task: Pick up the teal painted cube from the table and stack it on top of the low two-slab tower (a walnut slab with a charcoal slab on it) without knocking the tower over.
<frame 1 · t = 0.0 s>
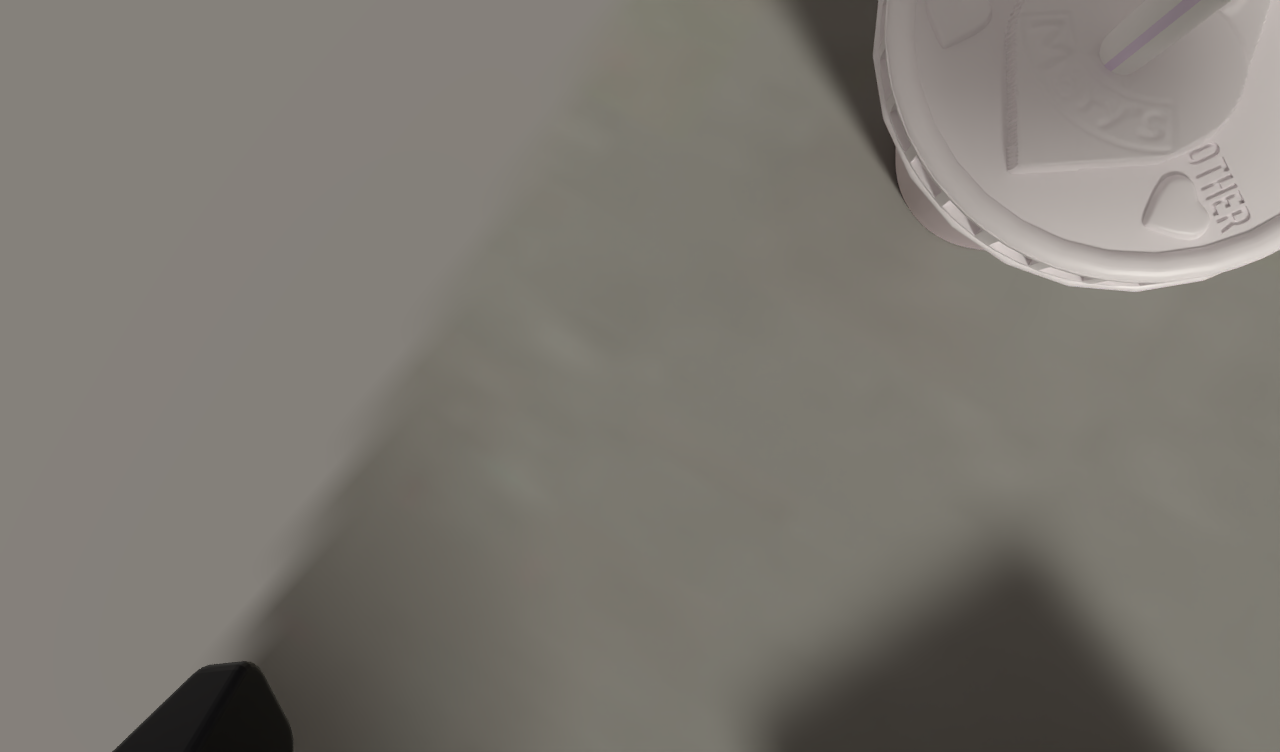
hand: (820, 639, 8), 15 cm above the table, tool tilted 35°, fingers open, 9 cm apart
smoothie: (984, 161, 23), on the table
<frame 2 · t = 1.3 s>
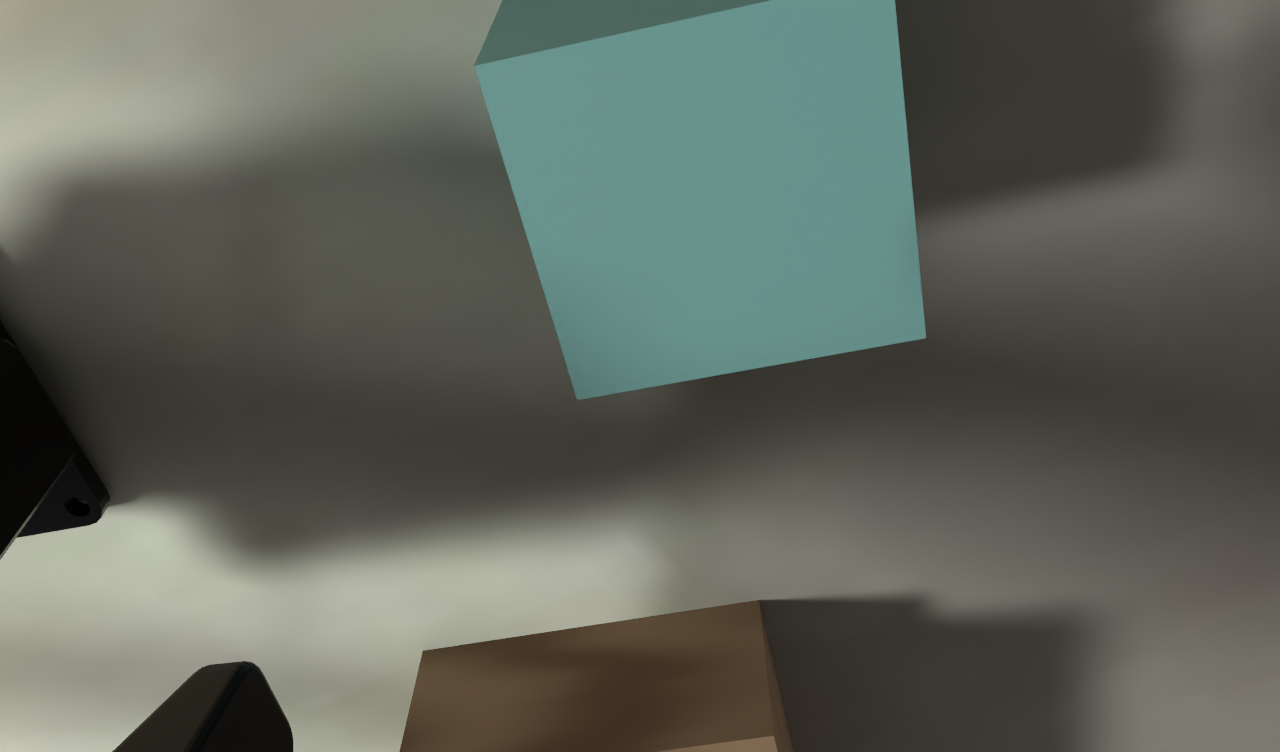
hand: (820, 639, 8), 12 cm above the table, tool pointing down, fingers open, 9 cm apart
tower base: (626, 727, 28), on the table, touching tower top
teal cube: (702, 84, 18), on the table
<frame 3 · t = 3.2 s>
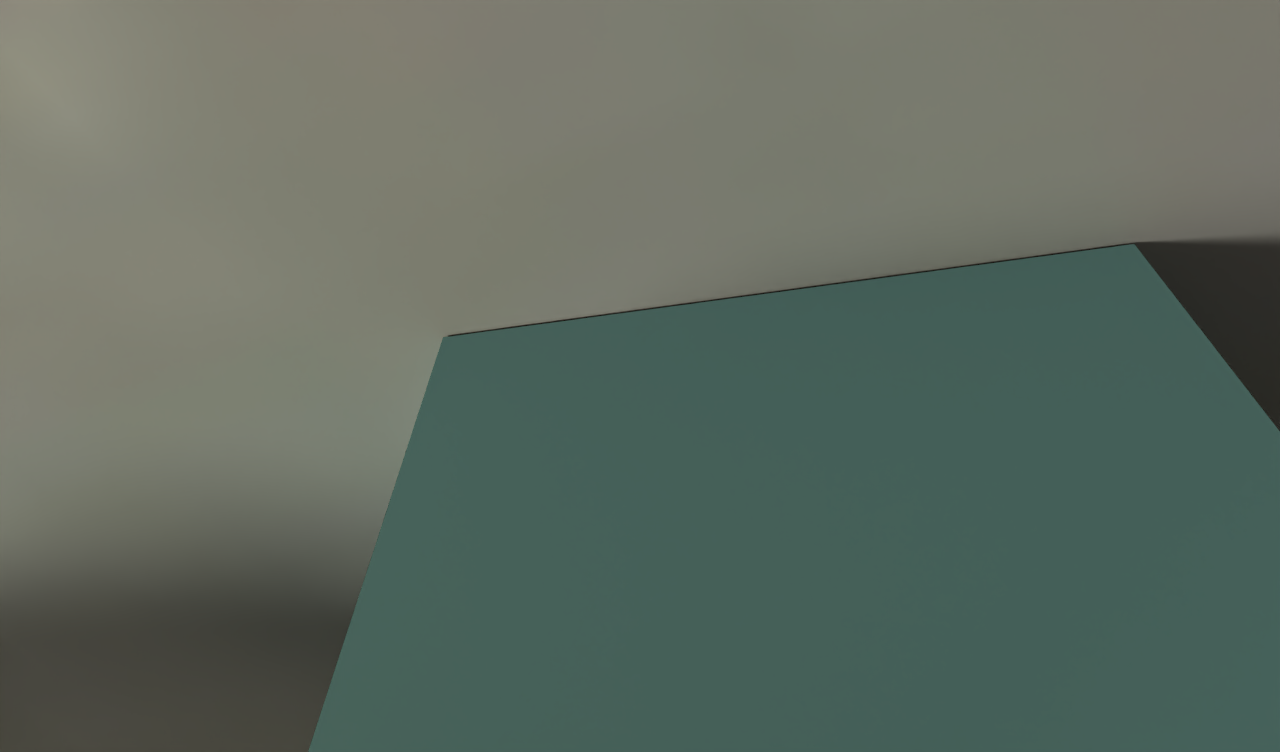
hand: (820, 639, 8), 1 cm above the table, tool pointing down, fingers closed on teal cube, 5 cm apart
teal cube: (805, 547, 9), on the table, touching gripper
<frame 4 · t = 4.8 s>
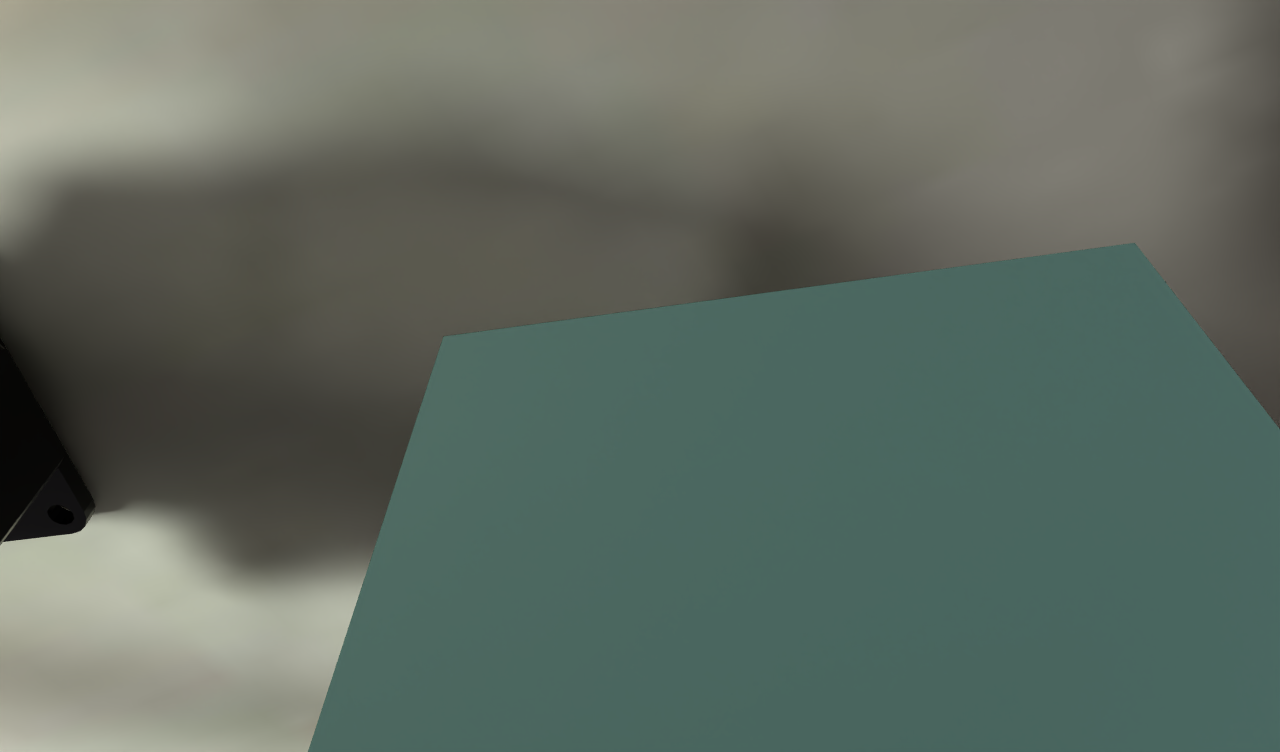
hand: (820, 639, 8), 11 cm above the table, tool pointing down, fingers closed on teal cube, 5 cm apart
teal cube: (806, 546, 9), point 10 cm above the table, touching gripper
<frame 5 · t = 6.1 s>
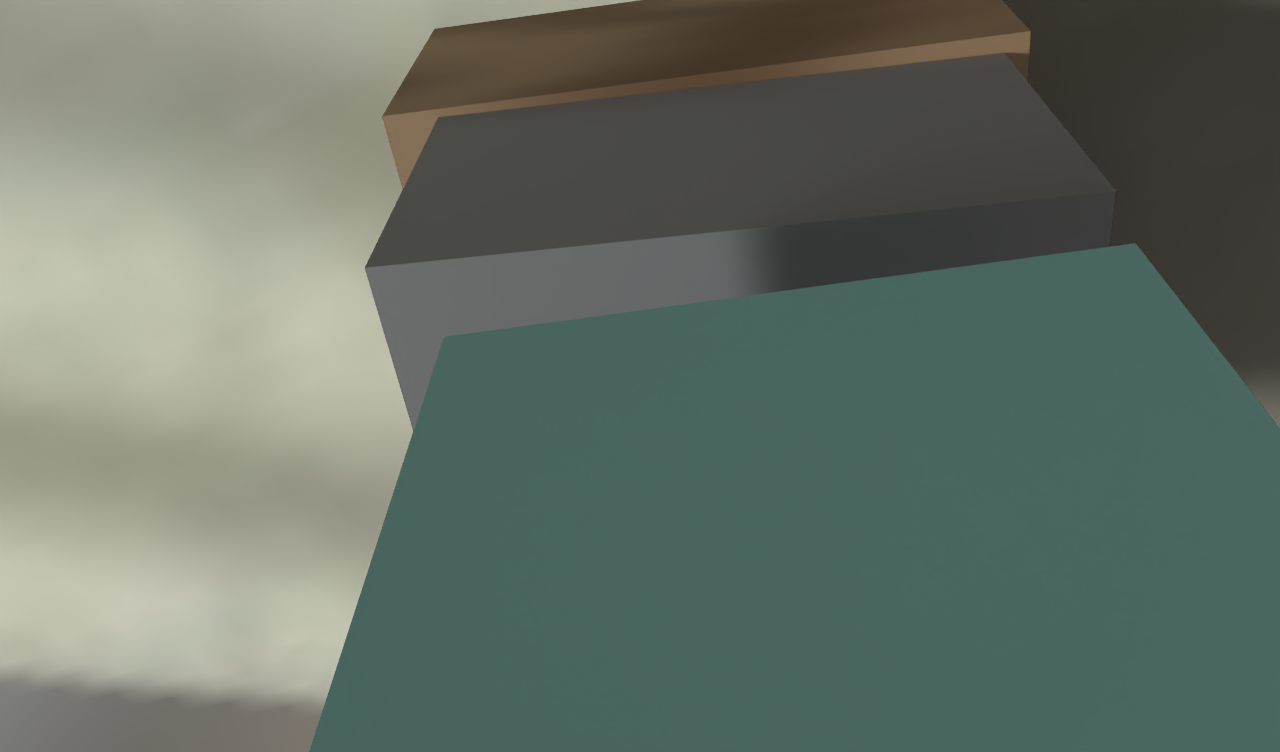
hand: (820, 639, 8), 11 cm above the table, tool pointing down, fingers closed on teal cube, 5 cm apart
tower base: (717, 224, 19), on the table
teal cube: (806, 546, 9), point 10 cm above the table, touching gripper
tower top: (736, 327, 15), point 4 cm above the table
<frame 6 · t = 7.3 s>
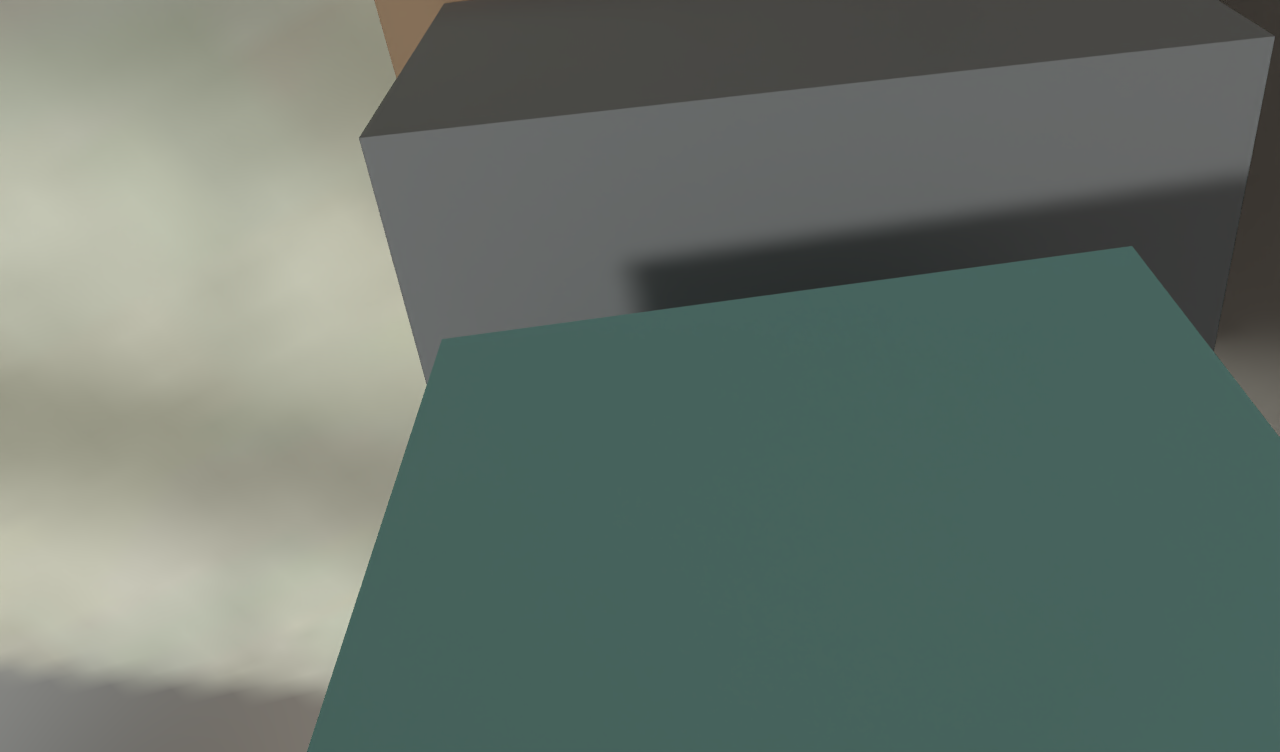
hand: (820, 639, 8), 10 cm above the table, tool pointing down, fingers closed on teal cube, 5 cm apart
tower base: (751, 144, 17), on the table, touching tower top
teal cube: (804, 548, 9), point 9 cm above the table, touching gripper
tower top: (779, 255, 14), point 4 cm above the table, touching tower base
when the fingers open (10 cm above the table, at t = 7.5 s): teal cube drops 1 cm, point 8 cm above the table.
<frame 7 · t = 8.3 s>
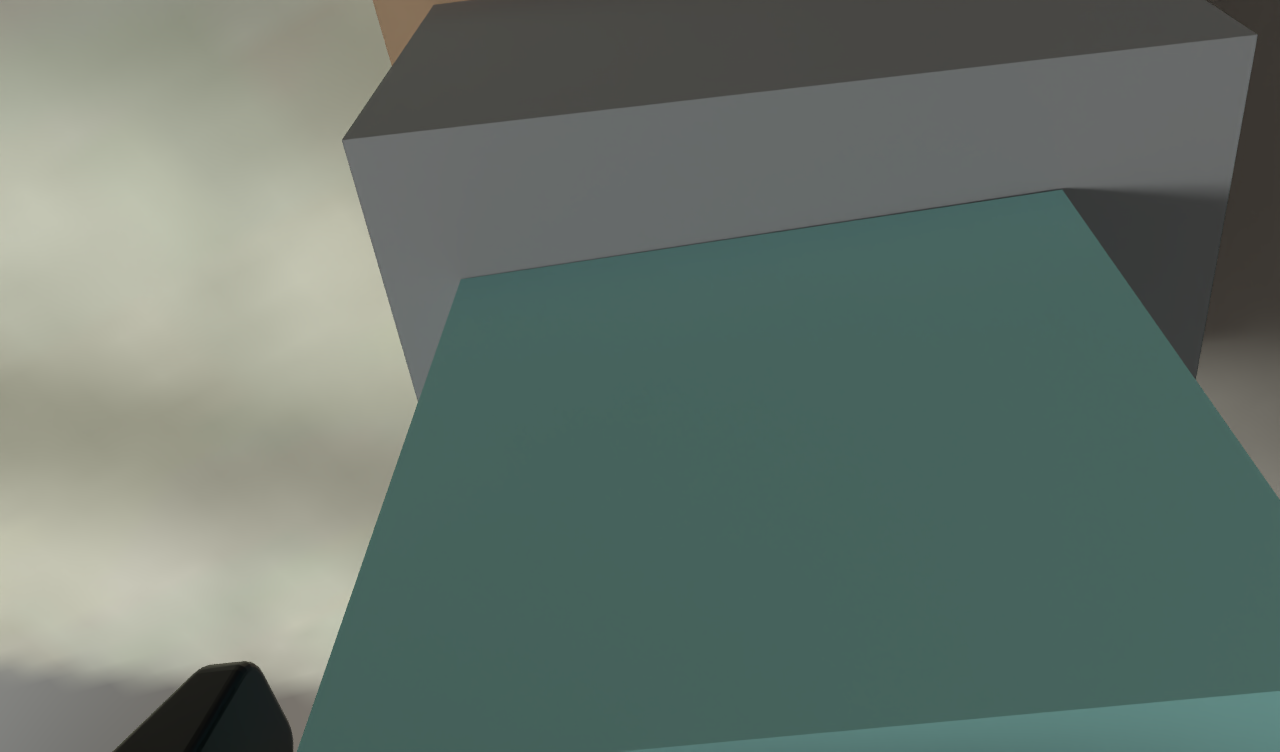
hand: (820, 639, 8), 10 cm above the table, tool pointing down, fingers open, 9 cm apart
tower base: (751, 144, 17), on the table, touching tower top
teal cube: (783, 469, 10), point 8 cm above the table
tower top: (771, 254, 14), point 4 cm above the table, touching tower base
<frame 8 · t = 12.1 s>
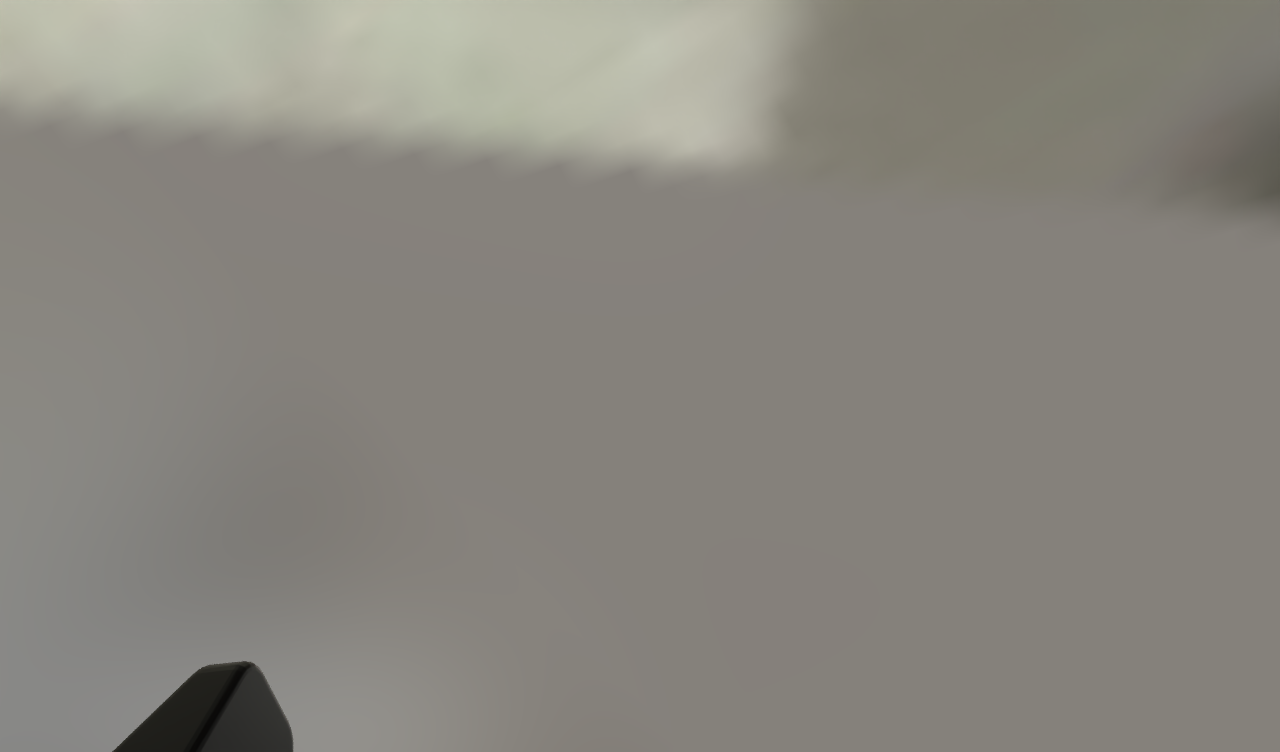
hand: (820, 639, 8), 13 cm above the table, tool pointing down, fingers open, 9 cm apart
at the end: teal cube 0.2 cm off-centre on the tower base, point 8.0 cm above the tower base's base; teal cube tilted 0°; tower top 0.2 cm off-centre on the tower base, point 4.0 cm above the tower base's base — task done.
